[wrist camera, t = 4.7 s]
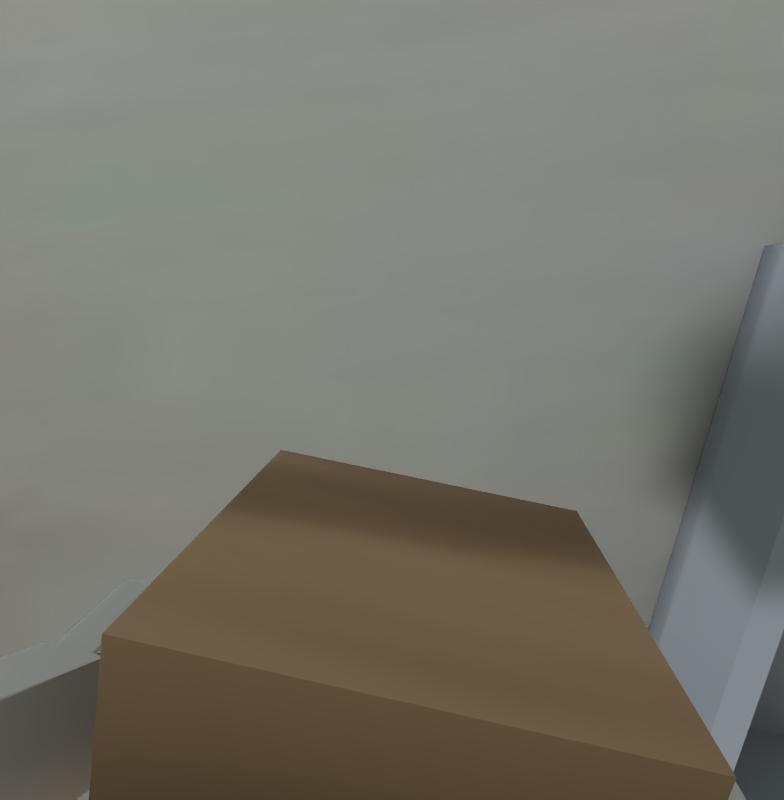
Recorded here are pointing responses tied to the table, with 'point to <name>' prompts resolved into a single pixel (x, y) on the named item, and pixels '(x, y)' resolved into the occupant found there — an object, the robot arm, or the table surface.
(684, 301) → the table surface
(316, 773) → the tan cube
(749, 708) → the tote
